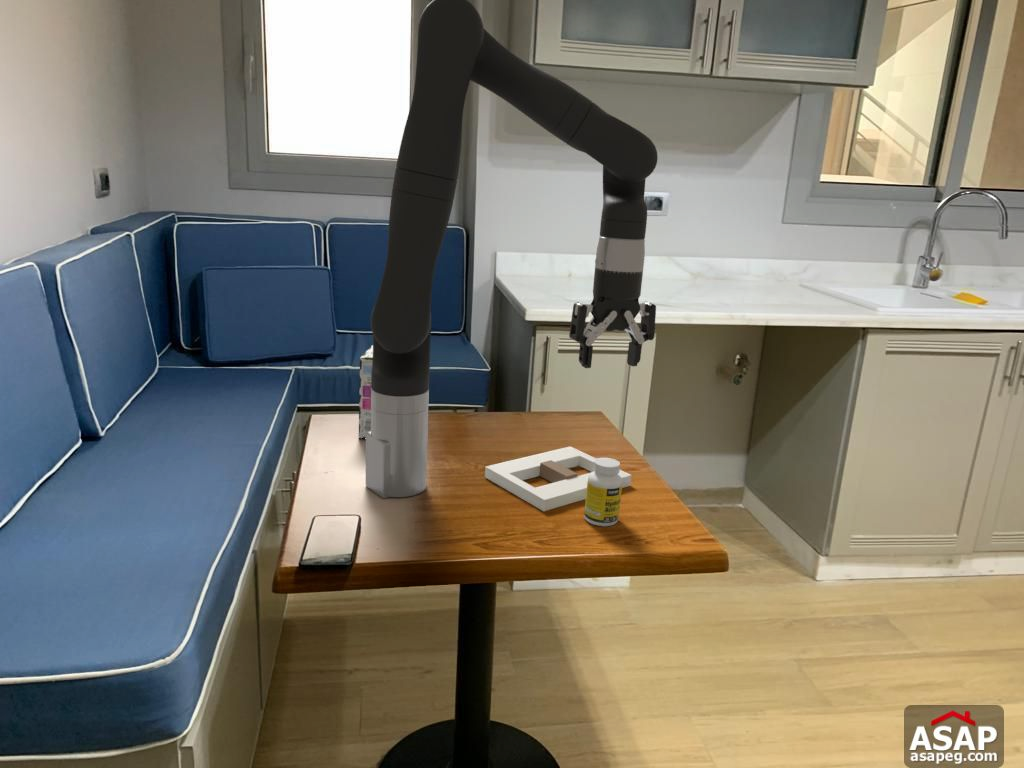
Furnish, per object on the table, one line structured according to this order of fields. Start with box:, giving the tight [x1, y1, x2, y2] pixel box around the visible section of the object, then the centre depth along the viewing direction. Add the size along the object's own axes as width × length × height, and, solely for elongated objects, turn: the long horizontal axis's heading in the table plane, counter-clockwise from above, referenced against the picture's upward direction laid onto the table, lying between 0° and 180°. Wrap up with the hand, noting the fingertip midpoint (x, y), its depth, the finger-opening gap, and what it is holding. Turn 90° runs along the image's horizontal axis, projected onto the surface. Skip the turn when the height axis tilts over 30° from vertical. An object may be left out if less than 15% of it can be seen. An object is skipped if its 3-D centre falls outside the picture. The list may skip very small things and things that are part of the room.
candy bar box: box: [358, 344, 373, 439], centre depth 153 cm, size 11×5×16 cm, turn 178°
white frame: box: [484, 445, 632, 512], centre depth 136 cm, size 20×16×2 cm
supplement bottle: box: [583, 457, 623, 527], centre depth 121 cm, size 5×5×10 cm
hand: (609, 366), depth 126 cm, fingers open, 8 cm apart
